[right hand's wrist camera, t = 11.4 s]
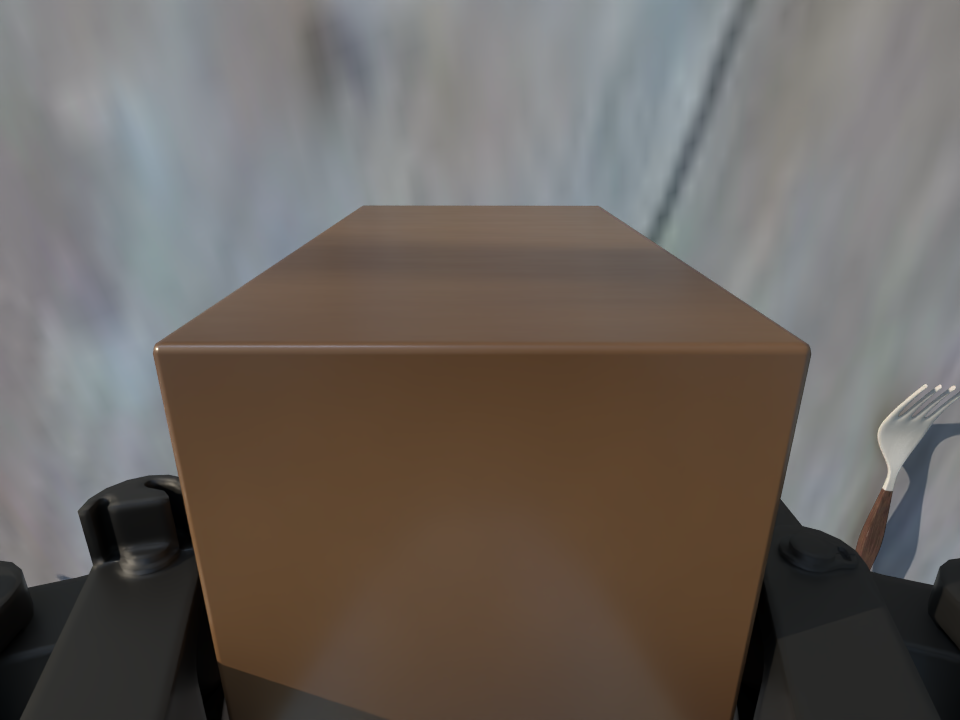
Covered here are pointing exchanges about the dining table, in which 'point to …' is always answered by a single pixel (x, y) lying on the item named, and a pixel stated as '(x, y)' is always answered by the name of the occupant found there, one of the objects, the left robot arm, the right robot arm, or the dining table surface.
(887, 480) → the fork
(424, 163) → the dining table surface
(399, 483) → the bar
